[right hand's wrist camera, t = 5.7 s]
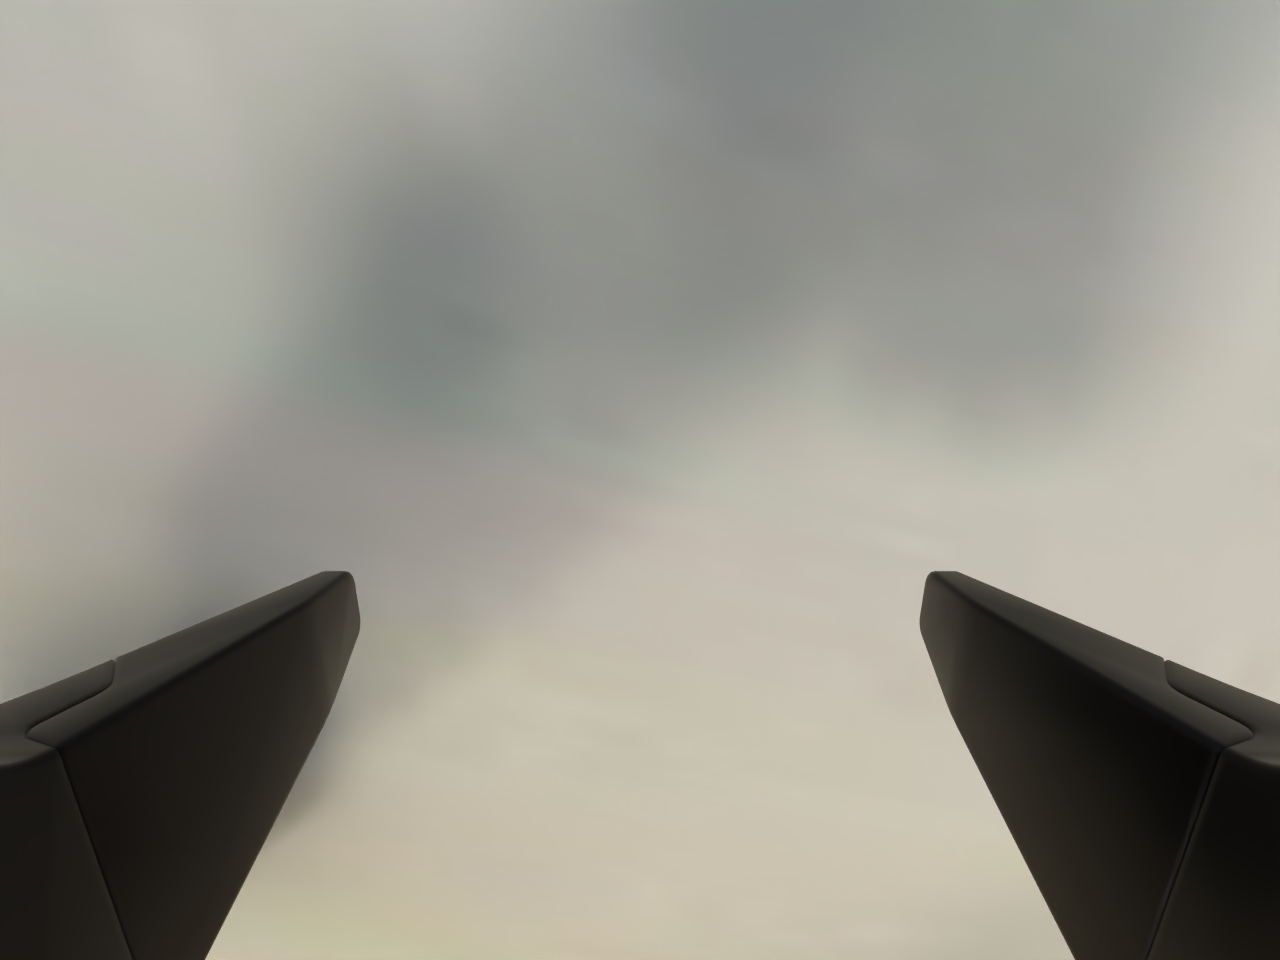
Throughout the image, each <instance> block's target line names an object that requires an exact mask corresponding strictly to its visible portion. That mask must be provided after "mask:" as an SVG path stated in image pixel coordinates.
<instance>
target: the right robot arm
mask: <svg viewBox="0 0 1280 960" xmlns="http://www.w3.org/2000/svg"><path fill="white" fill-rule="evenodd" d="M359 630H360V614H359V607H358V601H357V595H356V588H355V582H354V579H353V576H352V575H351V574H350V573H349V572H346V571H324V572H321V573H318V574H316V575H313V576H311V577H309V578H306V579H304V580H302V581H299V582H297V583H294V584H292V585H290V586H287V587H285V588H282V589H280V590H278V591H275V592H273V593H270V594H268V595H266V596H263V597H261V598H259V599H256V600H254V601H251V602H249V603H247V604H244V605H242V606H239V607H237V608H235V609H232V610H230V611H227V612H225V613H223V614H220V615H218V616H215V617H213V618H211V619H208V620H206V621H204V622H201V623H199V624H196V625H194V626H192V627H189V628H187V629H184V630H182V631H180V632H177V633H175V634H172V635H170V636H168V637H165V638H163V639H161V640H158V641H156V642H153V643H151V644H149V645H146V646H144V647H141V648H139V649H137V650H134V651H132V652H129V653H127V654H125V655H122V656H120V657H118V658H117V659H116V662H115V661H114V660H110V661H108V662H105V663H103V664H101V665H98V666H96V667H93V668H91V669H89V670H86V671H84V672H81V673H79V674H76V675H74V676H71V677H69V678H66V679H64V680H61V681H59V682H57V683H54V684H52V685H49V686H47V687H44V688H41V689H39V690H36V691H34V692H31V693H28V694H26V695H23V696H20V697H18V698H15V699H13V700H10V701H7V702H5V703H2V704H0V960H205V959H206V957H207V955H208V953H209V951H210V949H211V947H212V945H213V943H214V941H215V939H216V937H217V935H218V933H219V931H220V929H221V927H222V925H223V923H224V921H225V919H226V917H227V915H228V913H229V911H230V909H231V907H232V905H233V903H234V901H235V899H236V897H237V895H238V893H239V891H240V889H241V887H242V885H243V884H244V882H245V880H246V878H247V876H248V874H249V872H250V870H251V868H252V866H253V864H254V862H255V860H256V858H257V856H258V854H259V852H260V850H261V848H262V846H263V844H264V842H265V840H266V838H267V836H268V834H269V832H270V830H271V828H272V826H273V824H274V822H275V820H276V818H277V816H278V814H279V812H280V810H281V808H282V806H283V804H284V802H285V801H286V799H287V797H288V795H289V793H290V791H291V789H292V787H293V785H294V783H295V781H296V779H297V777H298V775H299V773H300V771H301V769H302V767H303V765H304V763H305V761H306V759H307V757H308V755H309V753H310V751H311V749H312V747H313V745H314V743H315V741H316V739H317V737H318V735H319V733H320V731H321V729H322V727H323V725H324V723H325V721H326V719H327V717H328V715H329V713H330V710H331V708H332V705H333V703H334V700H335V698H336V695H337V692H338V689H339V686H340V684H341V681H342V678H343V675H344V673H345V670H346V667H347V664H348V662H349V659H350V656H351V653H352V651H353V648H354V645H355V642H356V640H357V637H358V634H359ZM920 630H921V634H922V637H923V640H924V642H925V645H926V648H927V651H928V653H929V656H930V659H931V662H932V664H933V667H934V670H935V673H936V675H937V678H938V681H939V684H940V686H941V689H942V692H943V695H944V698H945V700H946V703H947V705H948V708H949V710H950V713H951V715H952V717H953V719H954V721H955V723H956V725H957V727H958V729H959V731H960V733H961V735H962V737H963V739H964V741H965V743H966V745H967V747H968V749H969V751H970V753H971V755H972V757H973V759H974V761H975V763H976V765H977V767H978V769H979V771H980V773H981V775H982V777H983V779H984V781H985V783H986V785H987V787H988V789H989V791H990V793H991V795H992V797H993V799H994V801H995V803H996V804H997V806H998V808H999V810H1000V812H1001V814H1002V816H1003V818H1004V820H1005V822H1006V824H1007V826H1008V828H1009V830H1010V832H1011V834H1012V836H1013V838H1014V840H1015V842H1016V844H1017V846H1018V848H1019V850H1020V852H1021V854H1022V856H1023V858H1024V860H1025V862H1026V864H1027V866H1028V868H1029V870H1030V872H1031V874H1032V876H1033V878H1034V880H1035V882H1036V884H1037V886H1038V887H1039V889H1040V891H1041V893H1042V895H1043V897H1044V899H1045V901H1046V903H1047V905H1048V907H1049V909H1050V911H1051V913H1052V915H1053V917H1054V919H1055V921H1056V923H1057V925H1058V927H1059V929H1060V931H1061V933H1062V935H1063V937H1064V939H1065V941H1066V943H1067V945H1068V947H1069V949H1070V951H1071V953H1072V955H1073V957H1074V959H1075V960H1280V704H1278V703H1275V702H1273V701H1270V700H1267V699H1265V698H1262V697H1260V696H1257V695H1254V694H1252V693H1249V692H1246V691H1244V690H1241V689H1239V688H1236V687H1233V686H1231V685H1228V684H1226V683H1223V682H1221V681H1219V680H1216V679H1214V678H1211V677H1209V676H1206V675H1204V674H1201V673H1199V672H1196V671H1194V670H1191V669H1189V668H1187V667H1184V666H1182V665H1179V664H1177V663H1175V662H1172V661H1170V660H1166V661H1165V662H1164V659H1163V658H1162V657H1160V656H1158V655H1155V654H1153V653H1151V652H1148V651H1146V650H1143V649H1141V648H1139V647H1136V646H1134V645H1131V644H1129V643H1127V642H1124V641H1122V640H1119V639H1117V638H1115V637H1112V636H1110V635H1108V634H1105V633H1103V632H1100V631H1098V630H1096V629H1093V628H1091V627H1088V626H1086V625H1084V624H1081V623H1079V622H1076V621H1074V620H1072V619H1069V618H1067V617H1065V616H1062V615H1060V614H1057V613H1055V612H1053V611H1050V610H1048V609H1045V608H1043V607H1041V606H1038V605H1036V604H1033V603H1031V602H1029V601H1026V600H1024V599H1021V598H1019V597H1017V596H1014V595H1012V594H1010V593H1007V592H1005V591H1002V590H1000V589H998V588H995V587H993V586H990V585H988V584H986V583H983V582H981V581H978V580H976V579H974V578H971V577H969V576H967V575H964V574H962V573H959V572H956V571H934V572H931V573H930V574H929V575H928V576H927V579H926V582H925V588H924V595H923V601H922V607H921V614H920Z"/></svg>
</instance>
